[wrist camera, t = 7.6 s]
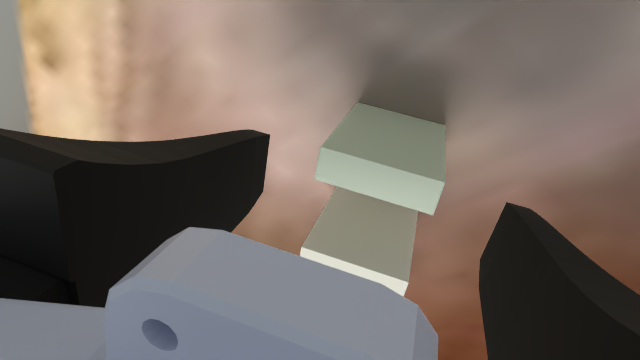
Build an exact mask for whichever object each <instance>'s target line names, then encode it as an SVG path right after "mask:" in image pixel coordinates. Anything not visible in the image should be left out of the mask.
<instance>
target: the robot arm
mask: <svg viewBox="0 0 640 360" xmlns="http://www.w3.org/2000/svg"><path fill="white" fill-rule="evenodd" d="M269 139H270V135H269V134H265V133H262V132H258V131H255V130H237V131H230V132H223V133H217V134H211V135H205V136H198V137H190V138H183V139H175V140H165V141H148V142H112V141H89V140H76V139H67V138H58V137H50V136H42V135H36V134H30V133H24V132H18V131H12V130H5V129H0V360H437V359H438V335H437V333H436V332H435V330H434V329H433V327H432V326H431V324H430V323H429V321H428V320H427V318H426V317H425V315H424V314H423V312H422V311H421V309H420V307H419V306H418V305H417V304H415V303H413V302H412V301H410V300H408V299H407V298H405V297H403V296H401V295H400V294H398V293H396V292H395V291H393V290H391V289H389V288H388V287H386V286H384V285H383V284H381V283H378V282H375V281H372V280H369V279H366V278H363V277H360V276H357V275H354V274H351V273H348V272H345V271H342V270H339V269H336V268H333V267H330V266H327V265H324V264H321V263H319V262H316V261H313V260H310V259H307V258H304V257H301V256H298V255H295V254H292V253H289V252H286V251H283V250H280V249H277V248H274V247H271V246H268V245H265V244H262V243H259V242H256V241H254V240H251V239H248V238H245V237H242V236H239V235H236V234H233V233H231V232H232V231H233V230H234V229H235V227H236V226H237V225H238V224H239V223H240V222H241V221H242V220H243V219H244V218H245V216H246V215H247V214H248V213H249V212H250V210H251V209H252V207H253V206H254V204H255V203H256V201H257V200H258V198H259V197H260V195H261V194H262V192H263V187H264V179H265V171H266V163H267V155H268V147H269ZM479 292H480V300H481V309H482V316H483V324H484V331H485V339H486V346H487V354H488V360H640V295H638V294H637V293H635V292H634V291H633V290H631V289H630V288H628V287H627V286H625V285H624V284H622V283H621V282H619V281H618V280H617V279H615V278H614V277H613V276H611V275H610V274H609V273H607V272H606V271H605V270H603V269H602V268H601V267H600V266H598V265H597V264H596V263H595V262H593V261H592V260H591V259H590V258H588V257H587V256H586V255H585V254H584V253H582V252H581V251H580V250H579V249H578V248H576V247H575V246H574V245H573V244H572V243H571V242H569V241H568V240H567V239H566V238H565V237H564V236H563V235H562V234H560V233H559V232H558V231H557V230H556V229H555V228H554V227H552V226H551V225H550V224H549V223H548V222H547V221H546V220H544V219H543V218H542V217H541V216H539V215H538V214H537V213H535V212H534V211H532V210H531V209H529V208H525V207H522V206H518V205H515V204H511V203H508V202H507V203H506V205H505V207H504V209H503V211H502V213H501V215H500V218H499V220H498V222H497V224H496V226H495V228H494V231H493V233H492V235H491V237H490V239H489V241H488V243H487V246H486V248H485V250H484V252H483V254H482V256H481V259H480V272H479Z"/></svg>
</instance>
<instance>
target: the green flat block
mask: <svg viewBox="0 0 640 360" xmlns="http://www.w3.org/2000/svg"><path fill="white" fill-rule="evenodd" d="M445 166H446V125H442V124H439V123H435V122H431V121H427V120H423V119H420V118H416V117H412V116H408V115H404V114H401V113H397V112H393V111H389V110H385V109H382V108H378V107H374V106H370V105H366V104H363V103H359V102H357V104H356V105H355V106H354V107H353V108H352V110H351V111H350V112H349V113H348V114H347V116H346V117H345V118H344V119H343V120H342V122H341V123H340V124H339V125H338V127H337V128H336V129H335V130H334V131H333V133H332V134H331V135H330V136H329V137H328V139H327V140H326V141H325V142H324V143H323V145H322V146H321V148H320V153H319V158H318V163H317V168H316V173H315V178H314V179H315V180H318V181H321V182H325V183H328V184H331V185H335V186H338V187H341V188H344V189H348V190H351V191H354V192H358V193H361V194H364V195H368V196H371V197H374V198H377V199H381V200H384V201H387V202H391V203H394V204H397V205H400V206H404V207H407V208H410V209H414V210H417V211H420V212H424V213H427V214H430V215H433V214H434V211H435V209H436V206H437V203H438V201H439V198H440V195H441V193H442V190H443V187H444V185H445Z"/></svg>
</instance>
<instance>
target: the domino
mask: <svg viewBox="0 0 640 360" xmlns="http://www.w3.org/2000/svg"><path fill="white" fill-rule="evenodd" d="M417 217H418V211H417V210H414V209H410V208H407V207H404V206H400V205H397V204H394V203H391V202H387V201H384V200H381V199H377V198H374V197H371V196H368V195H364V194H361V193H358V192H354V191H351V190H348V189H344V188H341V187H338V186H337V187H336V188H335V190H334V192H333V194H332V195H331V197H330V199H329V201H328V202H327V204H326V206H325V207H324V209H323V211H322V213H321V214H320V216H319V218H318V220H317V221H316V223H315V225H314V226H313V228H312V230H311V232H310V233H309V235H308V237H307V239H306V240H305V242H304V244H303V246H302V248H301V253H300V256H301V257H304V258H307V259H310V260H313V261H316V262H319V263H321V264H324V265H327V266H330V267H333V268H336V269H339V270H342V271H345V272H348V273H351V274H354V275H357V276H360V277H363V278H366V279H369V280H372V281H375V282H378V283H381V284H383V285H384V286H386V287H388V288H389V289H391V290H393V291H395V292H396V293H398V294H400V295H401V296H404V293H405V291H406V288H407V285H408V282H409V275H410V268H411V261H412V253H413V246H414V239H415V231H416V224H417Z"/></svg>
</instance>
